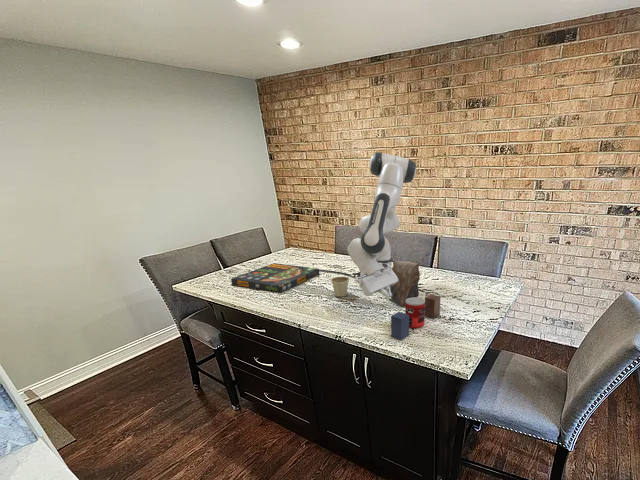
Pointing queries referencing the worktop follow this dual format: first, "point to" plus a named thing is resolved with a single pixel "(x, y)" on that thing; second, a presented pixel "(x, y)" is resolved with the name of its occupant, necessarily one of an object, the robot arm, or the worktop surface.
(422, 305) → the canned food
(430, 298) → the walnut block
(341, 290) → the flower pot
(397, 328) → the blue block
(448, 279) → the worktop surface
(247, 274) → the pizza box
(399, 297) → the owl
